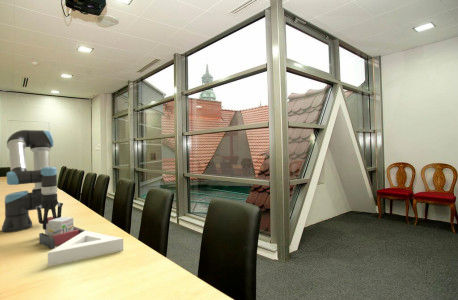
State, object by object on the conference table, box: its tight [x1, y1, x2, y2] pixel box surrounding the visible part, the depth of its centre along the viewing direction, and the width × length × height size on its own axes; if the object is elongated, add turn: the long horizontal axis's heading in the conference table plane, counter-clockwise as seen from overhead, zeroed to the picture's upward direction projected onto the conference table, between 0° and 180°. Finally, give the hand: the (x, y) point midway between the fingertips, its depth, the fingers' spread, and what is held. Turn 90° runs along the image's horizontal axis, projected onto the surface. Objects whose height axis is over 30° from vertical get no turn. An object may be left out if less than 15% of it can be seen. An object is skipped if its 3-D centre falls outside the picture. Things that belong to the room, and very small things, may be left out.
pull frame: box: [47, 216, 79, 247], centre depth 143 cm, size 24×12×10 cm, turn 54°
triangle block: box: [47, 230, 124, 267], centre depth 127 cm, size 30×26×6 cm
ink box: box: [48, 216, 75, 237], centre depth 140 cm, size 8×8×12 cm
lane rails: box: [38, 226, 86, 250], centre depth 139 cm, size 16×16×5 cm
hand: (50, 233), depth 148 cm, fingers closed on pull frame, 3 cm apart
